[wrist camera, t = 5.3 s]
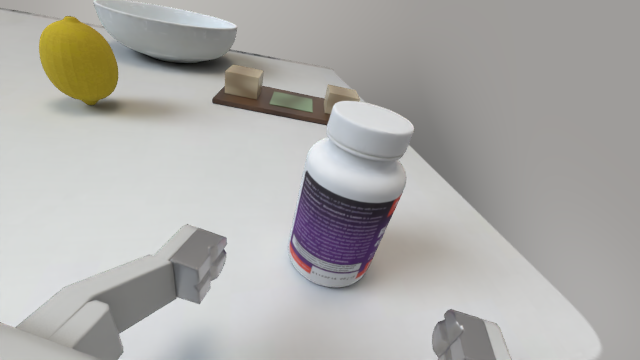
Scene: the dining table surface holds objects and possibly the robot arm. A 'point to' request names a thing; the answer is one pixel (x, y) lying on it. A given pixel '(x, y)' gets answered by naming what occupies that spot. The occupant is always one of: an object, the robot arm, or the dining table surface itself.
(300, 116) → the word board
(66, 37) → the lemon
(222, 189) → the dining table surface
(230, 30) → the serving bowl
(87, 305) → the robot arm
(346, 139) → the pill bottle
